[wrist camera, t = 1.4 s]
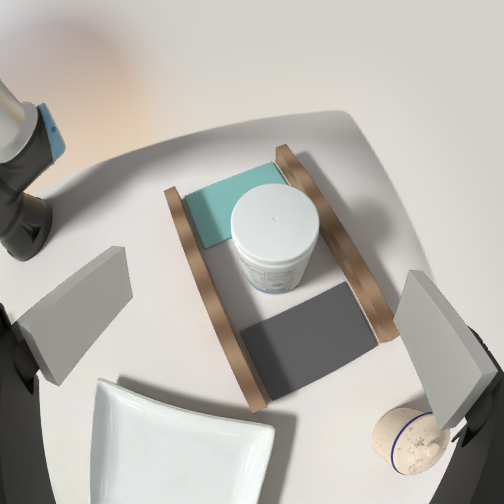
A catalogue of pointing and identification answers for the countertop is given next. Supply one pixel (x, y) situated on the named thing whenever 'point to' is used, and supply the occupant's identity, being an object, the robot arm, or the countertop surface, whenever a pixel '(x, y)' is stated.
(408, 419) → the teacup with lid
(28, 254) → the robot arm
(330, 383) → the countertop surface
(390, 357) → the countertop surface
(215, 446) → the square plate
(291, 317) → the trap mat
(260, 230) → the supplement tub
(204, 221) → the pad
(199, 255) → the channel rails
